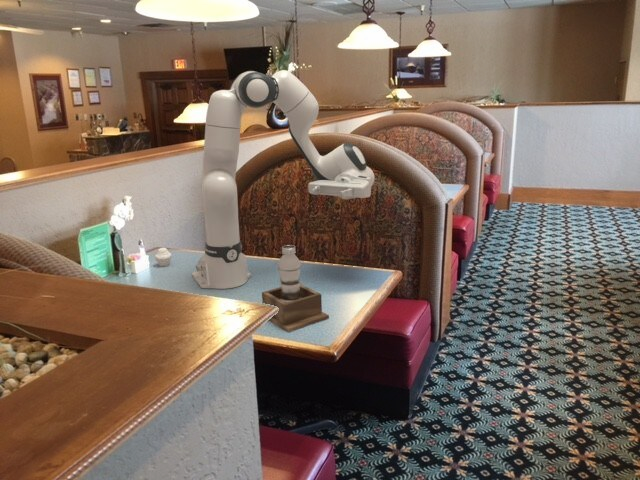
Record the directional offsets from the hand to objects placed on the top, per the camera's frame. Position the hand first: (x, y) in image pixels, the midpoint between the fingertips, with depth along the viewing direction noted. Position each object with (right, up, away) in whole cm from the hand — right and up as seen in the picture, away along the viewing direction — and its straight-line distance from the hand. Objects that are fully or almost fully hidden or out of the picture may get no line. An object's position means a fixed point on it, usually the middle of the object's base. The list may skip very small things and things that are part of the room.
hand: (327, 193), depth 169 cm
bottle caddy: (-11, -37, -10) cm, 40 cm away
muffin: (-62, -24, +37) cm, 76 cm away
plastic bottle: (-11, -36, -10) cm, 39 cm away
